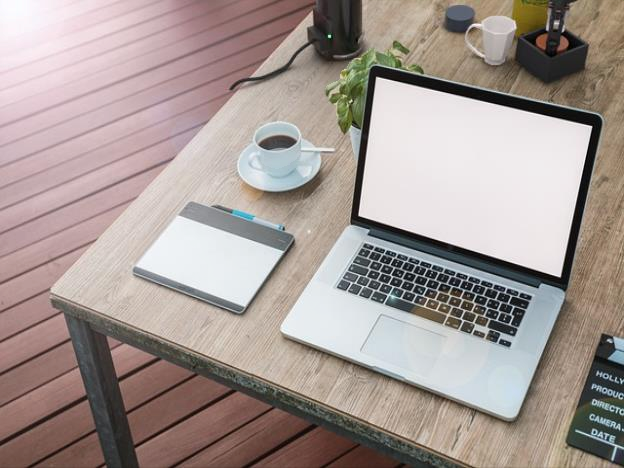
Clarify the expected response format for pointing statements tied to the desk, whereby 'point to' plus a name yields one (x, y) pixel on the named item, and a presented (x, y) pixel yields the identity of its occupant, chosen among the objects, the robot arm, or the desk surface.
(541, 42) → the terracotta disc
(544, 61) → the tub
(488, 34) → the cup
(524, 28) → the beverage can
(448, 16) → the dark blue short cylinder
